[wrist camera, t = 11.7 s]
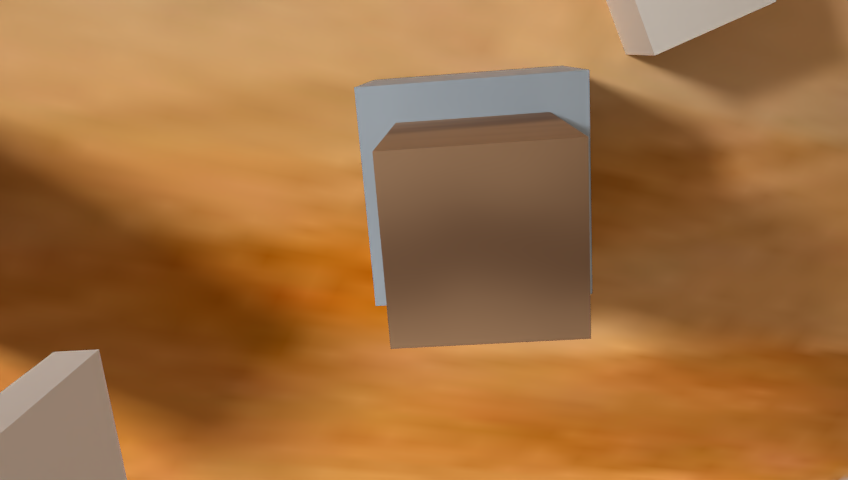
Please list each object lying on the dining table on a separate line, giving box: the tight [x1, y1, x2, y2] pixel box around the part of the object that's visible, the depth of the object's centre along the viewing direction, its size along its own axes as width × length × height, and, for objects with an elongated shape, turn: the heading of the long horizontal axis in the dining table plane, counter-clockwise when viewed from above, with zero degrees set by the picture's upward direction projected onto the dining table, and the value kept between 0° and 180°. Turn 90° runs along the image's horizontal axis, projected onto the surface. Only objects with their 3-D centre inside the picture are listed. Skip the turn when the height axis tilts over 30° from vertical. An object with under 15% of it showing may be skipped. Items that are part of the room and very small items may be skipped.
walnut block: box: [372, 112, 591, 349], centre depth 24 cm, size 6×6×8 cm
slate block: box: [354, 66, 592, 306], centre depth 31 cm, size 9×9×7 cm
